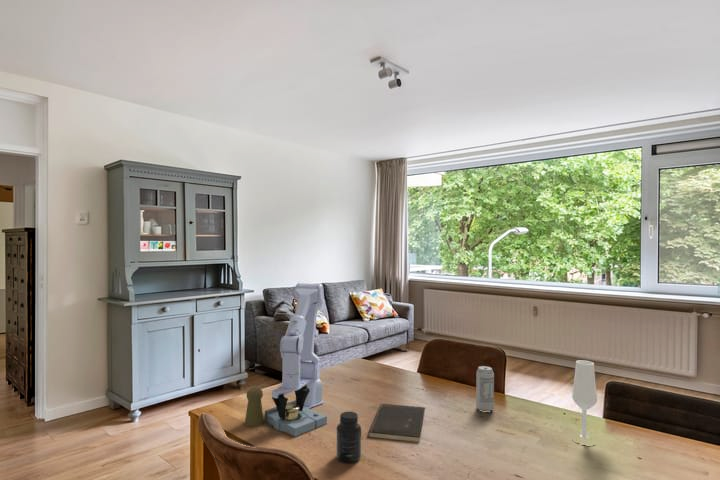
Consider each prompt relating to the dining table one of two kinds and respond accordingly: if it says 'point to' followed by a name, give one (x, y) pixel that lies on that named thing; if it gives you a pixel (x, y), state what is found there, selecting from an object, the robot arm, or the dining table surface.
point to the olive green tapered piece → (254, 408)
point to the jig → (304, 423)
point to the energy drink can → (485, 388)
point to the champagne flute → (584, 389)
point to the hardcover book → (398, 422)
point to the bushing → (291, 412)
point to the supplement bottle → (348, 438)
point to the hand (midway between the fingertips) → (290, 413)
